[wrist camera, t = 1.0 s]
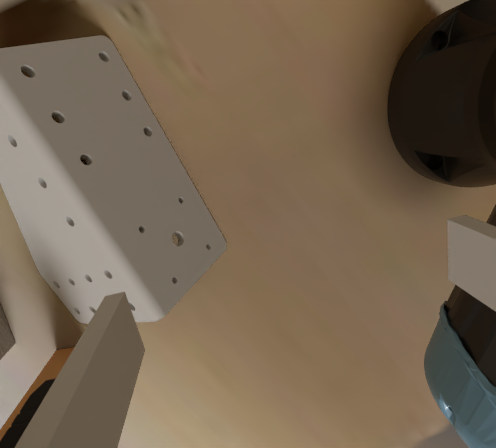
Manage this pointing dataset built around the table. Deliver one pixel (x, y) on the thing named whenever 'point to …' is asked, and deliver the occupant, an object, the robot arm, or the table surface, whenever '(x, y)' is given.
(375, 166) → the table surface
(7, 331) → the grey post stand
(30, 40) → the table surface
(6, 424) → the tan wooden beam
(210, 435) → the table surface
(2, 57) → the bracket
